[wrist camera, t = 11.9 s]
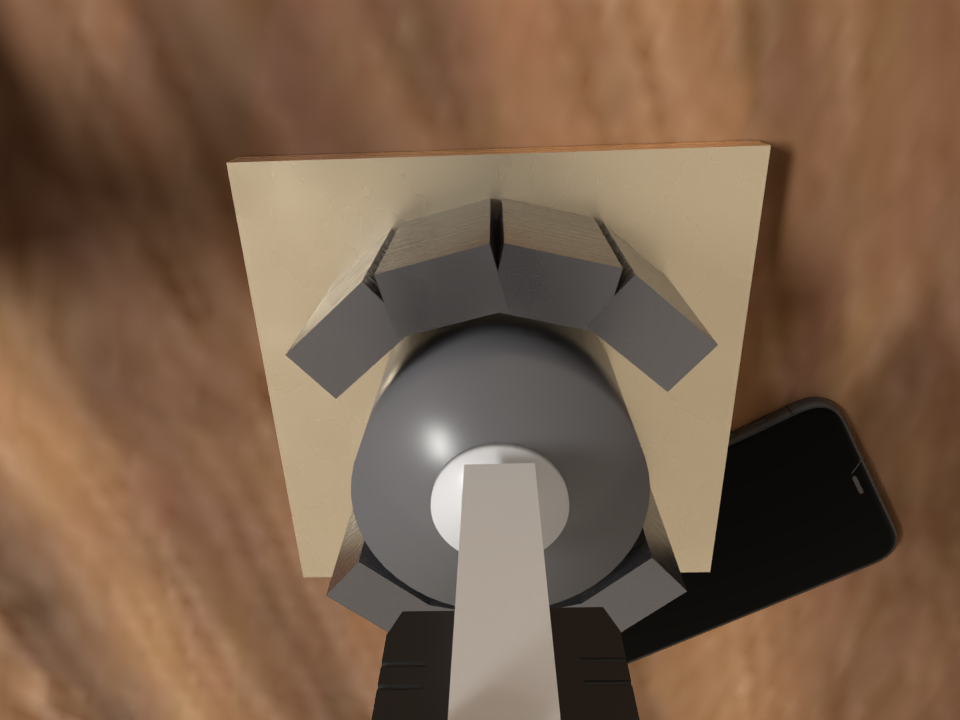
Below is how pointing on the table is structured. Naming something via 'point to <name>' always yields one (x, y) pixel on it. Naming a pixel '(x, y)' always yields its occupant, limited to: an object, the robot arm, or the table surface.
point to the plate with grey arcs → (509, 290)
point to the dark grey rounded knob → (500, 449)
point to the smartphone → (778, 524)
